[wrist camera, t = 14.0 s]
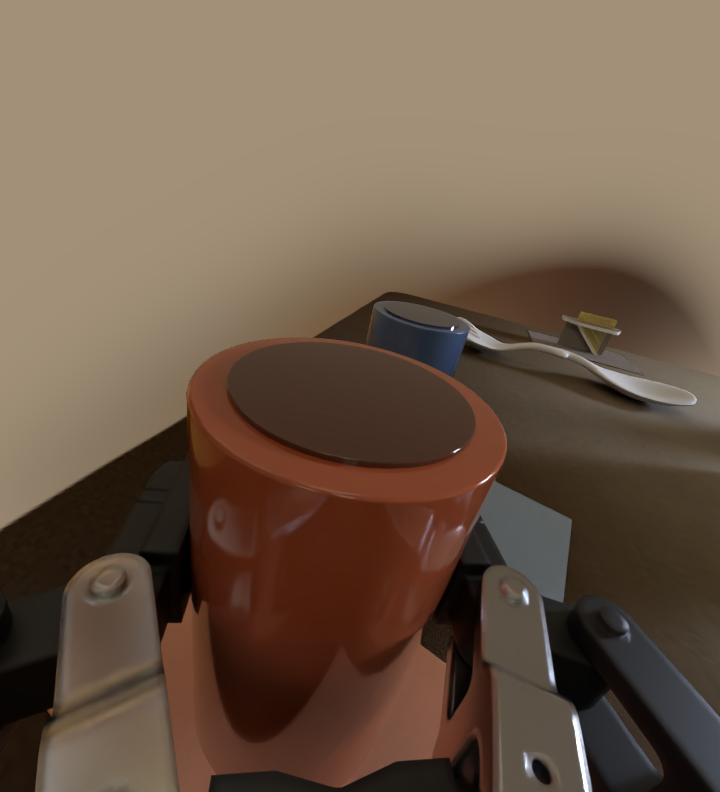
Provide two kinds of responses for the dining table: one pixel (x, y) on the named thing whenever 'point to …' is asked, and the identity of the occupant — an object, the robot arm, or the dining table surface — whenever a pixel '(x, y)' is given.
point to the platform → (587, 341)
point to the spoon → (593, 371)
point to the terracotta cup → (321, 542)
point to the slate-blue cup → (418, 334)
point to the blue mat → (530, 538)
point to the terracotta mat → (397, 741)
